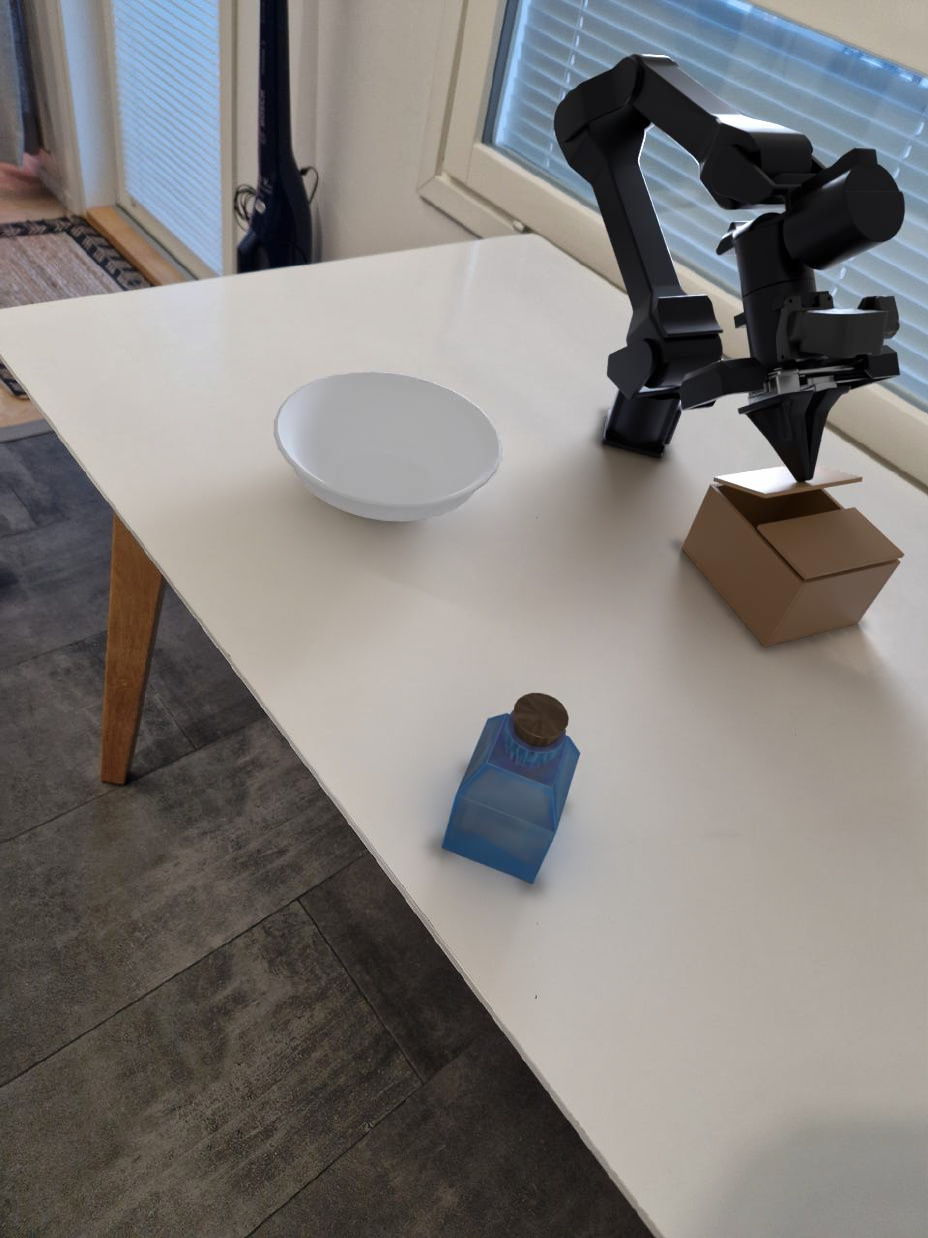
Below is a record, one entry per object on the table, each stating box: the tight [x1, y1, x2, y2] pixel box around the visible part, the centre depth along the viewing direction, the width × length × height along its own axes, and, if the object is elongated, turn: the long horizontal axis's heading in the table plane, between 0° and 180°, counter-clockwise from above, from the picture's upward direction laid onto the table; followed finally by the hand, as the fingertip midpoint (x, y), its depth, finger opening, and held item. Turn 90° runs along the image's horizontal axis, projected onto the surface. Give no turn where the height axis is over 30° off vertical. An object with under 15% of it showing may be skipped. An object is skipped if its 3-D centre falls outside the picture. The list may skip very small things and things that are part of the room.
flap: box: [713, 464, 863, 498], centre depth 74 cm, size 6×11×1 cm, turn 113°
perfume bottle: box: [440, 692, 581, 885], centre depth 53 cm, size 6×6×12 cm
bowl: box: [273, 370, 503, 522], centre depth 77 cm, size 20×20×6 cm
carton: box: [681, 482, 905, 648], centre depth 76 cm, size 13×11×8 cm
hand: (804, 481), depth 72 cm, fingers closed
